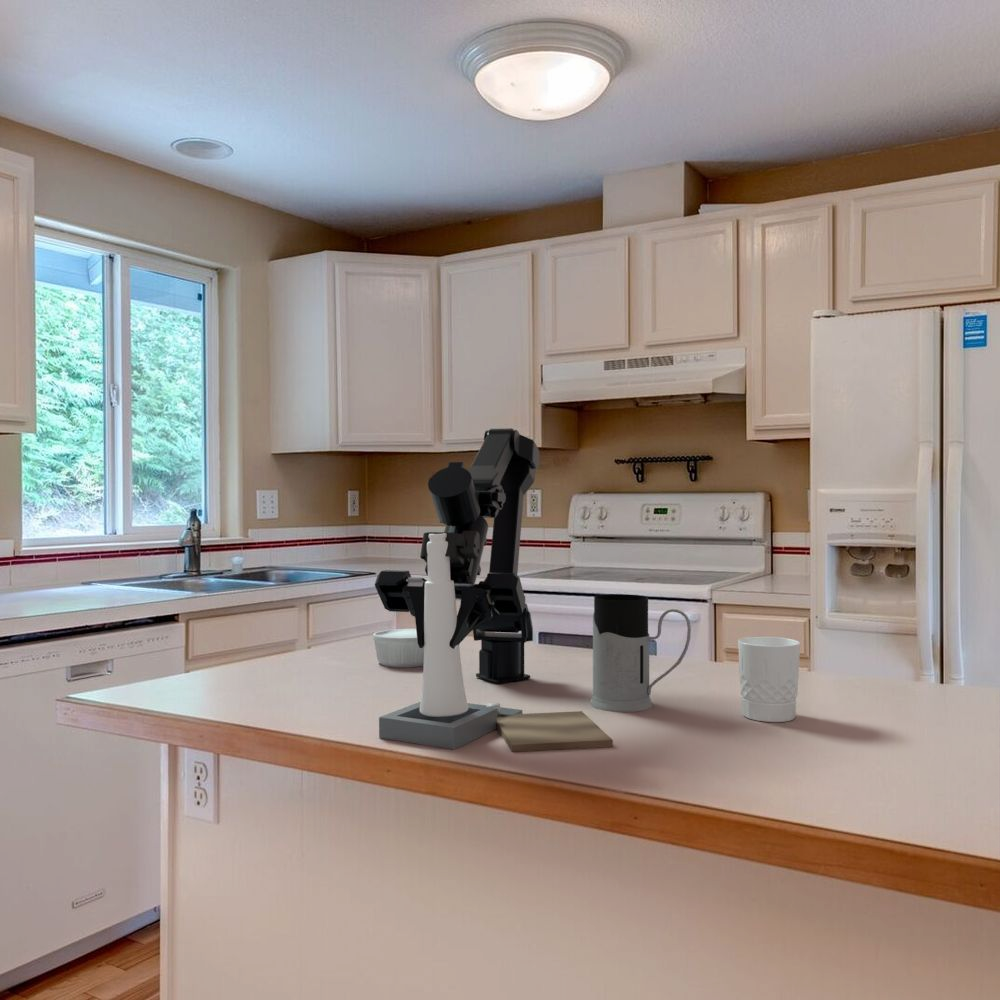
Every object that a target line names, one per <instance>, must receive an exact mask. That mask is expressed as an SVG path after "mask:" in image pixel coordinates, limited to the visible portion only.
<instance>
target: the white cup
mask: <svg viewBox="0 0 1000 1000" xmlns="http://www.w3.org/2000/svg"><path fill="white" fill-rule="evenodd" d="M737 645H738V646H737V647H738V648H737V649H738V666H739V667H738V668H739V669H738V671H739V686H740V696H741V703H742V704H741V705H742V706H741V708H742V712H741V713H742V715H743V717H745V718H747V719H750V720H753V721H758V722H764V723H785V722H791V721H793V720H794V719H795V718H796V714H797V712H796V711H797V697H798V690H799V688H798V686H799V676H800V675H799V673H800V656H801V655H800V653H801V652H800V651H801V642H800V641H799V640H796V639H792V638H787V637H779V636H778V637H776V636H763V635H762V636H747V637H741V638H739V639H738V640H737Z"/></svg>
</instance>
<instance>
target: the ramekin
mask: <svg viewBox="0 0 1000 1000" xmlns="http://www.w3.org/2000/svg"><path fill="white" fill-rule="evenodd" d="M372 636H373V637H372V638H373V639H372V640H373V641H374V646H375V647H374V648H375V653H376V654H375V655H376V658H377V662H379V664H380V665H382V666H384V667H391V668H414V667H424V646H423V648H419V646H418V641H417V631H416V628H398V629H397V628H396V629H395V628H394V629H387V630H380V631H376V632H374V633H373V635H372Z"/></svg>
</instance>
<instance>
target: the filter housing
mask: <svg viewBox="0 0 1000 1000" xmlns="http://www.w3.org/2000/svg"><path fill="white" fill-rule="evenodd" d="M420 704H421V701H418V702H415V703H413V704H411V705H408V706H405V707H403V708H400V709H397V710H394V711H392V712H389V713H387V714H383V715H382V716H379V717H378V728H379V729H378V738H379V739H385V740H392V741H397V742H405V743H413V744H417V745H423V746H431V747H436V748H443V749H451V750H456V749H457V748H460V747H462V746H464V745H466V744H468V743H470V742H472V741H474V740H476V739H478V738H480V737H483V736H485V735H486V734H487V735H488V734H489V733H491V732H492V731H494V730H496V729H497V722H498V721H497V715H508V714H510V715H512V714H523V709H517V708H512V707H511V708H510V707H502V706H501V704H500V703H498V702H488V703H486V704H485V705H484V704H480V703H479V704H477V703H470V702H467V704H468V711H467V712H465V713H463V714H460V715H455V716H448V717H432V716H426V715H423V714H421V713H420ZM510 715H508V717H509V716H510ZM504 718H505V717H504V716H503V719H504ZM506 718H507V717H506ZM499 720H500V716H499ZM497 730H498V729H497Z"/></svg>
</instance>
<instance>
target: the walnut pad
mask: <svg viewBox="0 0 1000 1000" xmlns="http://www.w3.org/2000/svg"><path fill="white" fill-rule="evenodd" d="M508 715H510V714H508ZM508 715H497V721H498V722H497V732H499V734H500V736H501V737H502V739H503V741H504V742H505V744H506V745H507V747H508V748H509V750H510V751H511V752H512V753H514V752H531V751H532V752H534V751H535V752H537V751H553V750H554V751H556V750H572V749H573V750H574V749H592V748H593V749H594V748H609V747H614V746H613V745H614V744H613V743H614V741H613V739H612V738H611V736H609V735H608V734H607V733H606V732H605V731H604V730H603V729H601V727H600V726H599V725H597V724H596V723H595V722H594V721H593V720H592V719H591V718H590V717H589V716H588V715H586V714H585V713H584V712H583V711H582V710H581V711H579V710H577V711H560V712H559V711H558V712H557V711H555V712H537V713H536V712H534V713H531V712H530V713H522V714H512V715H510V716H509V717H508ZM499 716H500V720H499ZM503 716H504V717H505V718H504V719H503ZM506 717H507V718H506Z"/></svg>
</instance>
